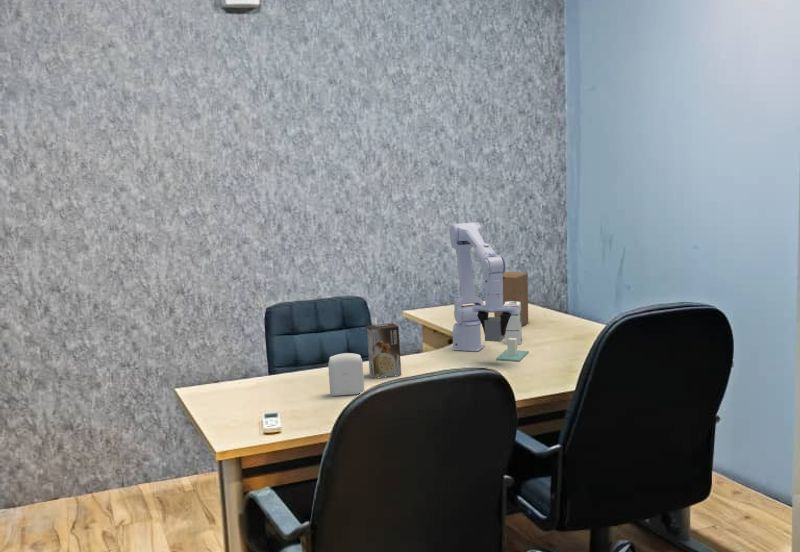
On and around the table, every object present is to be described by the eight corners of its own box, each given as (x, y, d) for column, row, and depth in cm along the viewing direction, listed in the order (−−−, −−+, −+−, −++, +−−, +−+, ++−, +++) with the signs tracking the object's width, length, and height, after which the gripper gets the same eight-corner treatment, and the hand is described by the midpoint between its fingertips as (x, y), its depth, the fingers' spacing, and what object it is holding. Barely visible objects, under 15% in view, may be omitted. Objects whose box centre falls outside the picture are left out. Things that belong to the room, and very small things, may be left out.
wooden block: (518, 329, 357) (517, 277, 353) (494, 326, 362) (493, 275, 358) (528, 323, 365) (528, 272, 362) (505, 321, 370) (504, 271, 367)
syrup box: (520, 344, 332) (520, 304, 330) (504, 344, 334) (503, 304, 331) (522, 340, 338) (521, 301, 335) (505, 340, 339) (504, 301, 337)
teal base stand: (496, 360, 313) (495, 342, 312) (505, 351, 323) (505, 334, 322) (519, 361, 310) (519, 343, 309) (528, 352, 320) (528, 335, 319)
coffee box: (396, 371, 304) (394, 322, 301) (401, 376, 298) (399, 326, 295) (368, 374, 302) (366, 325, 299) (373, 379, 296) (371, 329, 293)
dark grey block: (484, 340, 306) (484, 320, 305) (489, 337, 310) (489, 317, 309) (500, 341, 304) (499, 321, 303) (504, 338, 309) (504, 317, 307)
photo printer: (330, 397, 278) (327, 356, 276) (329, 393, 282) (327, 352, 280) (364, 394, 279) (362, 354, 277) (363, 390, 283) (362, 350, 281)
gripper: (468, 295, 304) (469, 336, 306) (512, 296, 298) (513, 338, 301) (475, 290, 310) (476, 331, 312) (518, 292, 305) (518, 333, 307)
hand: (494, 334), depth 307 cm, fingers closed on dark grey block, 5 cm apart
